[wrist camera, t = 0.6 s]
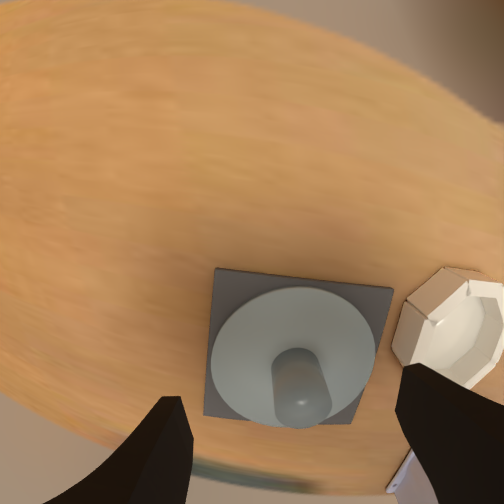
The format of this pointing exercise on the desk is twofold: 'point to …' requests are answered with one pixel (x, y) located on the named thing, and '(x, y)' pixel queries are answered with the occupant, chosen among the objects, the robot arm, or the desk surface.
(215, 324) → the mat
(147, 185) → the desk surface
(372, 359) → the lid
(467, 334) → the bowl
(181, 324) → the desk surface
